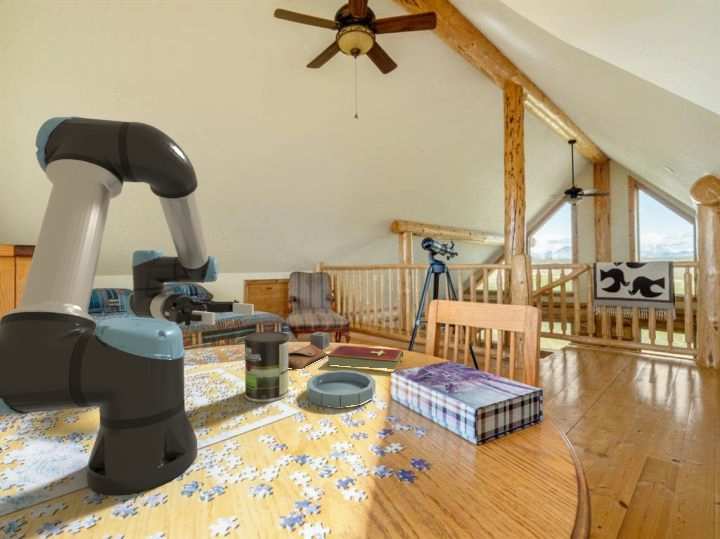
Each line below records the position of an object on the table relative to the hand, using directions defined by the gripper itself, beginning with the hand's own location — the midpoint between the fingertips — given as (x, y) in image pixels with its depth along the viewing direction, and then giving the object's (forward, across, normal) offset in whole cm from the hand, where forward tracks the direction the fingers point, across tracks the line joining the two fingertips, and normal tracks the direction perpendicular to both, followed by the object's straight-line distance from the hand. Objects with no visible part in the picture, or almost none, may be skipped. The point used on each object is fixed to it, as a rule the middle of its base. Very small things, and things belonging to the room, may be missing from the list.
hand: (234, 313), depth 90 cm
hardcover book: (+23, -31, -20) cm, 43 cm away
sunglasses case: (+5, -26, -20) cm, 33 cm away
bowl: (+26, -7, -18) cm, 33 cm away
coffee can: (+10, 0, -19) cm, 21 cm away
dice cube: (+1, -42, -19) cm, 46 cm away
